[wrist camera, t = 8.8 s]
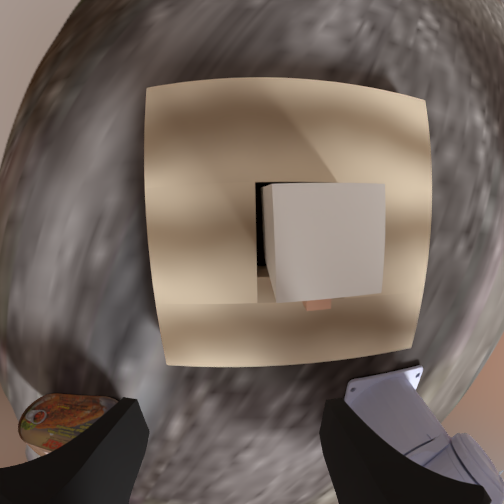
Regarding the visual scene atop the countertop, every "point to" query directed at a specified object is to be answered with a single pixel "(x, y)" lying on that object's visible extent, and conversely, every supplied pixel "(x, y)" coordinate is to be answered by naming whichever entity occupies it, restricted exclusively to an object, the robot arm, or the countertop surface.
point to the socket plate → (244, 214)
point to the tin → (60, 419)
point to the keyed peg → (323, 240)
